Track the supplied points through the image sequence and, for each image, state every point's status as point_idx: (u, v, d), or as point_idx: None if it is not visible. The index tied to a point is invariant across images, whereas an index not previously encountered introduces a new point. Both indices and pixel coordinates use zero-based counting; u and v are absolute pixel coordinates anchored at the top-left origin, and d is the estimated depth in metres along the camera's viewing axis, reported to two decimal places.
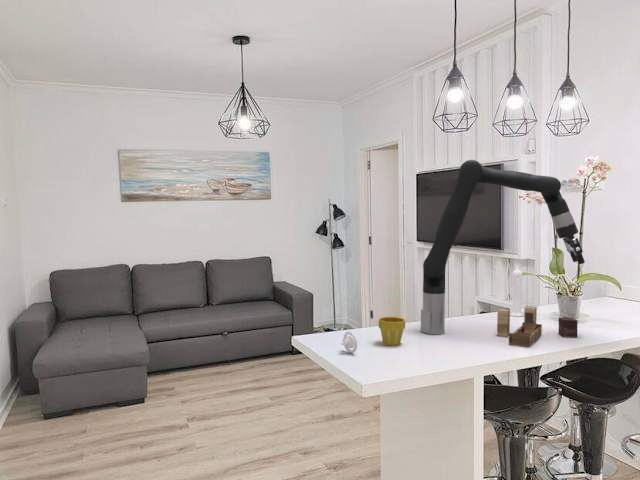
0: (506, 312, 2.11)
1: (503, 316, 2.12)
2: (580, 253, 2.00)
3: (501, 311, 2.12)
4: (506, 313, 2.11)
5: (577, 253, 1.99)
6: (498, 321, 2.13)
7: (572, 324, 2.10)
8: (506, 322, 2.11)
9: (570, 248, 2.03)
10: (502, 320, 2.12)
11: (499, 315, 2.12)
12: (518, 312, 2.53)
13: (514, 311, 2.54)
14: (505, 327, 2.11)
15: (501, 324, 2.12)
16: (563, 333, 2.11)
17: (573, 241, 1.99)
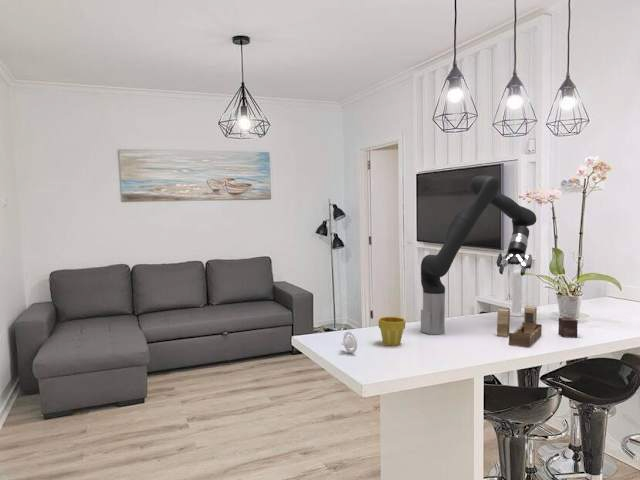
0: (506, 312, 2.11)
1: (503, 316, 2.12)
2: None
3: (501, 311, 2.12)
4: (506, 313, 2.11)
5: (529, 265, 2.20)
6: (498, 321, 2.13)
7: (572, 324, 2.10)
8: (506, 322, 2.11)
9: (520, 259, 2.23)
10: (502, 320, 2.12)
11: (499, 315, 2.12)
12: (518, 312, 2.53)
13: (514, 311, 2.54)
14: (505, 327, 2.11)
15: (501, 324, 2.12)
16: (563, 333, 2.11)
17: (531, 257, 2.23)
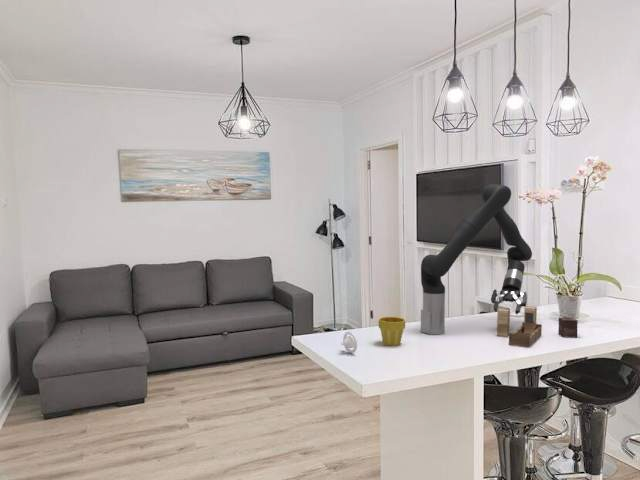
0: (506, 312, 2.11)
1: (503, 316, 2.12)
2: None
3: (501, 311, 2.12)
4: (506, 313, 2.11)
5: (525, 303, 2.15)
6: (498, 321, 2.13)
7: (572, 324, 2.10)
8: (506, 322, 2.11)
9: (515, 297, 2.18)
10: (502, 320, 2.12)
11: (499, 315, 2.12)
12: None
13: (514, 311, 2.54)
14: (505, 327, 2.11)
15: (501, 324, 2.12)
16: (563, 333, 2.11)
17: (526, 294, 2.18)
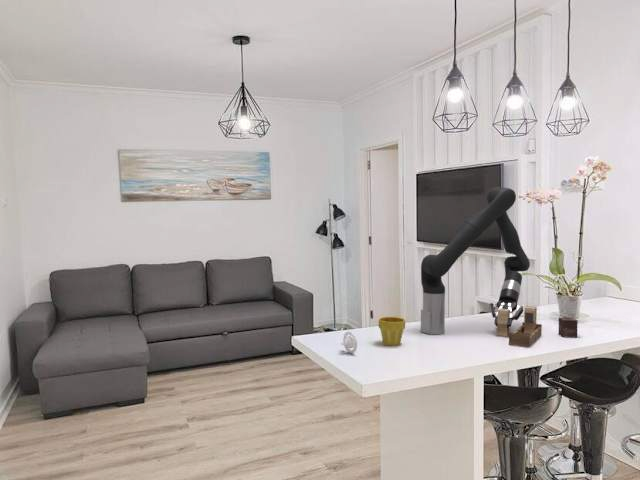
0: (506, 312, 2.11)
1: (503, 316, 2.12)
2: (513, 319, 2.12)
3: (501, 311, 2.12)
4: (506, 313, 2.11)
5: (516, 317, 2.11)
6: (498, 321, 2.13)
7: (572, 324, 2.10)
8: (506, 322, 2.11)
9: None
10: (502, 320, 2.12)
11: (499, 315, 2.12)
12: None
13: (514, 311, 2.54)
14: (505, 327, 2.11)
15: (501, 324, 2.12)
16: (563, 333, 2.11)
17: (522, 309, 2.13)
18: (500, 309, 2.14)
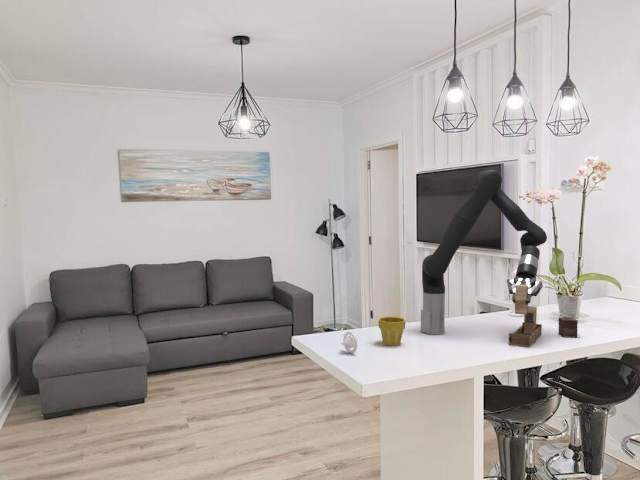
0: (525, 287, 1.98)
1: (521, 292, 1.99)
2: (532, 295, 2.00)
3: (519, 287, 1.99)
4: (525, 289, 1.98)
5: (535, 293, 1.98)
6: (516, 297, 2.00)
7: (572, 324, 2.10)
8: (525, 298, 1.98)
9: None
10: (520, 296, 1.99)
11: (517, 291, 1.99)
12: None
13: (514, 311, 2.54)
14: (524, 303, 1.98)
15: (519, 300, 1.99)
16: (563, 333, 2.11)
17: (541, 284, 2.00)
18: (518, 285, 2.01)
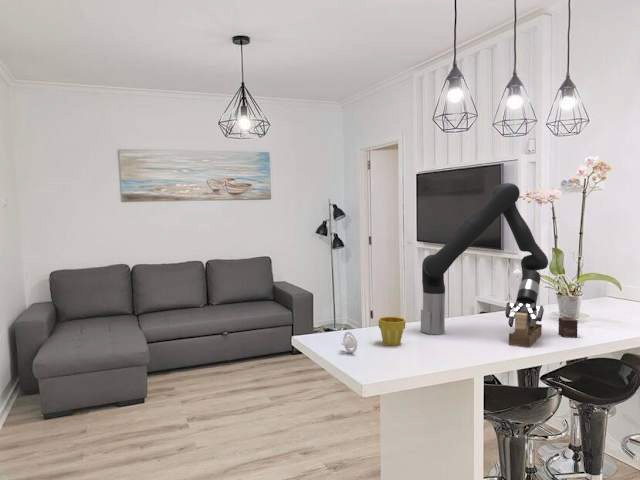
0: (524, 316, 1.97)
1: (521, 321, 1.98)
2: (537, 320, 1.98)
3: (519, 315, 1.98)
4: (524, 317, 1.97)
5: (540, 318, 1.97)
6: (516, 326, 1.99)
7: (572, 324, 2.10)
8: (524, 327, 1.98)
9: (530, 310, 2.00)
10: (520, 325, 1.98)
11: (517, 319, 1.99)
12: None
13: None
14: (523, 332, 1.98)
15: (519, 329, 1.99)
16: (563, 333, 2.11)
17: (543, 308, 2.00)
18: (518, 313, 2.00)
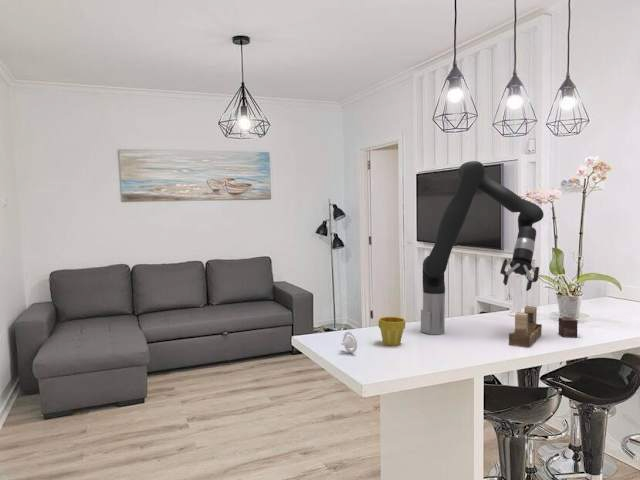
0: (524, 316, 1.97)
1: (521, 321, 1.98)
2: (532, 281, 2.07)
3: (519, 315, 1.98)
4: (524, 317, 1.97)
5: None
6: (516, 326, 1.99)
7: (572, 324, 2.10)
8: (524, 327, 1.98)
9: (527, 272, 2.06)
10: (520, 325, 1.98)
11: (517, 319, 1.99)
12: None
13: (514, 311, 2.54)
14: (523, 332, 1.98)
15: (519, 329, 1.99)
16: (563, 333, 2.11)
17: None
18: (518, 313, 2.00)
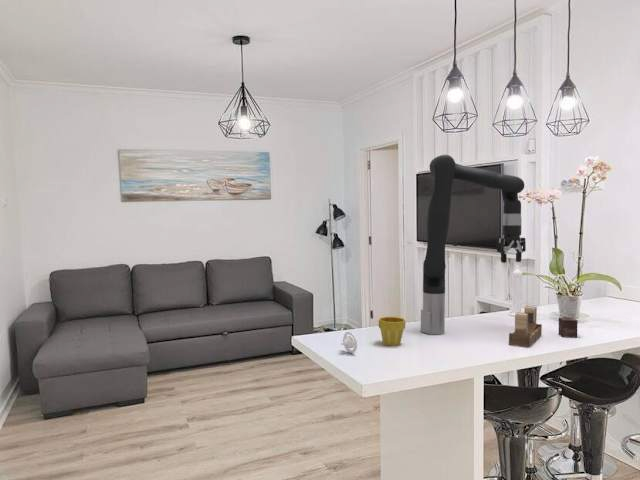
0: (524, 316, 1.97)
1: (521, 321, 1.98)
2: None
3: (519, 315, 1.98)
4: (524, 317, 1.97)
5: (524, 250, 2.21)
6: (516, 326, 1.99)
7: (572, 324, 2.10)
8: (524, 327, 1.98)
9: (519, 246, 2.19)
10: (520, 325, 1.98)
11: (517, 319, 1.99)
12: None
13: (514, 311, 2.54)
14: (523, 332, 1.98)
15: (519, 329, 1.99)
16: (563, 333, 2.11)
17: None
18: (518, 313, 2.00)
